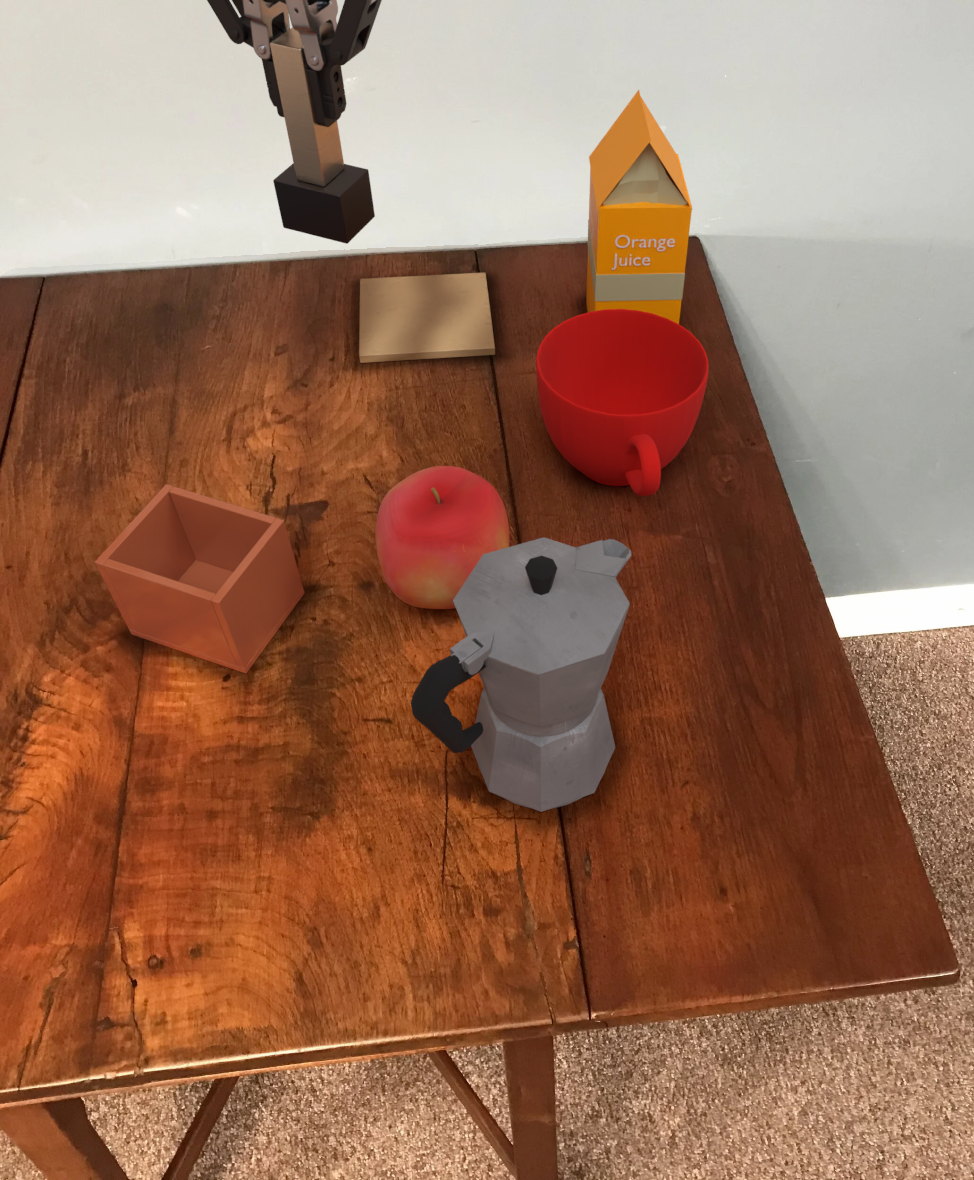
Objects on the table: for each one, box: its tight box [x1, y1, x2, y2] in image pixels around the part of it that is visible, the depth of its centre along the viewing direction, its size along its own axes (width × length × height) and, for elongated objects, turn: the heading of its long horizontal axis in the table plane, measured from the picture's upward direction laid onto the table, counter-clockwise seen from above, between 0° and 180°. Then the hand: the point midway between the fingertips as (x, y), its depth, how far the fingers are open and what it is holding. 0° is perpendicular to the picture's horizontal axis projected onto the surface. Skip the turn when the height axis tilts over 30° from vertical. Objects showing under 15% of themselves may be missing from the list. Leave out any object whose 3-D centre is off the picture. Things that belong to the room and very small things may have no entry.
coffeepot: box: [410, 536, 632, 813], centre depth 59 cm, size 15×9×18 cm, turn 135°
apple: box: [374, 465, 511, 610], centre depth 71 cm, size 10×10×10 cm
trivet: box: [358, 272, 496, 364], centre depth 95 cm, size 12×12×1 cm
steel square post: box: [270, 26, 376, 245], centre depth 69 cm, size 5×4×13 cm
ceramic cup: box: [535, 309, 709, 497], centre depth 79 cm, size 13×17×10 cm
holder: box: [94, 483, 306, 674], centre depth 70 cm, size 9×8×8 cm
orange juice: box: [585, 89, 693, 325], centre depth 88 cm, size 8×9×20 cm
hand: (310, 116), depth 68 cm, fingers closed on steel square post, 2 cm apart
